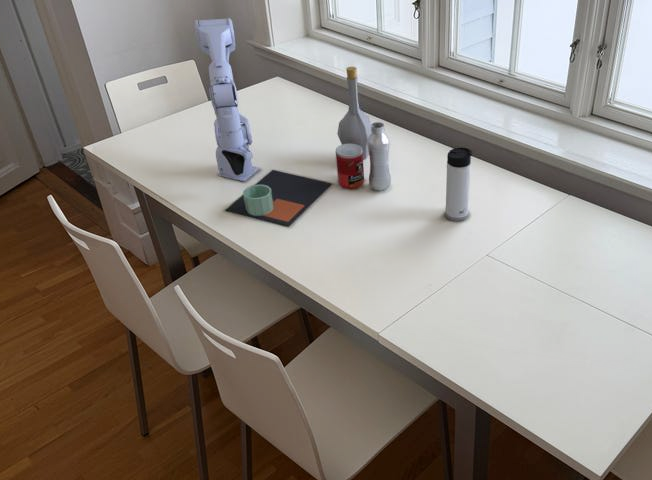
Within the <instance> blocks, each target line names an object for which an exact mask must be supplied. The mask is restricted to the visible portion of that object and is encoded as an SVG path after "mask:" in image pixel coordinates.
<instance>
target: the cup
mask: <svg viewBox="0 0 652 480" xmlns="http://www.w3.org/2000/svg"><path fill="white" fill-rule="evenodd" d="M242 195H243V196H244V201H245V207H246V210H247V212H248V213H249V214H250V215H254V216H262V215H266V214H269V213H270V212H272V211H273V209H274V203H273V196H272V190H271V188H270V187H269V186H266V185H255V184H253V185H250V186H248V187H246V188H245V189H244V190H243V193H242Z"/></svg>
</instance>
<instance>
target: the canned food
mask: <svg viewBox="0 0 652 480" xmlns="http://www.w3.org/2000/svg"><path fill="white" fill-rule="evenodd" d="M335 161H336V172H337V173H336V174H337V182H338V184H339V186H340V187H341V188H343V189H345V190H346V189H347V190H356V189H358V188H359V189H360V188H361V187H362V186H363V185H364V183H365V167H364V160H363V151H362V148H361V147H360V146H359V145H356V144H343V145H342V144H340V145H338V146H336V148H335Z"/></svg>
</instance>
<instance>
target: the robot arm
mask: <svg viewBox="0 0 652 480" xmlns="http://www.w3.org/2000/svg"><path fill="white" fill-rule="evenodd" d="M194 29H195V30H194V31H195V35H196V39H197V43H198V45H199V48H200V50H201V52H202V53H203V54H206V55H209V57H210V58H211V63H210V64H209V65H208V75H209V84H210V87H209V89H208V90H209V91H208V92H209V98H210V103H211V105H212V108H213V111H214V115H215V117H216V119H215V120H214V123H213V126H214V127H213V128H214V136H215V142H216V146H217V147H216V149H215V160H216V163H217V168H218V173H217V176H219V177H223V178H227V179H231V180H236V181H240V182H246V181H247V180H248V179H250V178H251V177H252V176H253V175H254V174H256V173H257V172H258V171H259V170H260V168H259V167H256V166H253V164H252V159H253V158H254V156H253V151H252V150H251V149H250V146H251V145H252V144H253V137H252V132H251V127H250V126H251V125H250V122H249V119H248V117H246V115H244V114H241V113H240V111H239V107H238V106H239V96H238V92H237V91H238V90H237V86H236V84H235V80H234V76H233V71H232V70H233V69H232V66H231V64H230V59H229V58H230V54H231V53H232V52H234V51H235V50H236V37H235V31H234V26H233V20H232V19H231V18H230V17H227V18H219V19H218V18H216V19H199V20H198V19H195V21H194Z"/></svg>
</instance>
